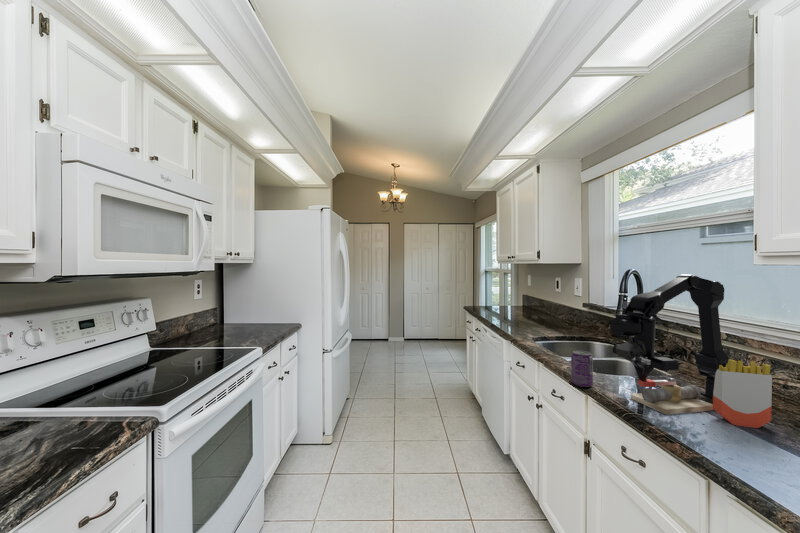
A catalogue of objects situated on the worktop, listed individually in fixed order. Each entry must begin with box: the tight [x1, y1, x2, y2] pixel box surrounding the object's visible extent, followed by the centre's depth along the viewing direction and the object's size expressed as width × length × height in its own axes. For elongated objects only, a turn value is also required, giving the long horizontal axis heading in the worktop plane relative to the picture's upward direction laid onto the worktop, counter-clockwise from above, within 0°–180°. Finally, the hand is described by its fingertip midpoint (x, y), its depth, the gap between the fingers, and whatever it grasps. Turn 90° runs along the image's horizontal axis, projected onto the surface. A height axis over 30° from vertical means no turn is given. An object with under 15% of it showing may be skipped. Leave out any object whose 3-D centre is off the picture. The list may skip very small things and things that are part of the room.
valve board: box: [630, 384, 715, 415], centre depth 106 cm, size 18×12×6 cm, turn 101°
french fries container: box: [712, 359, 773, 429], centre depth 93 cm, size 5×11×18 cm, turn 73°
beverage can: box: [570, 350, 594, 388], centre depth 122 cm, size 7×7×12 cm
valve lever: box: [637, 377, 677, 388], centre depth 105 cm, size 12×2×2 cm, turn 96°
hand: (641, 382), depth 107 cm, fingers closed
